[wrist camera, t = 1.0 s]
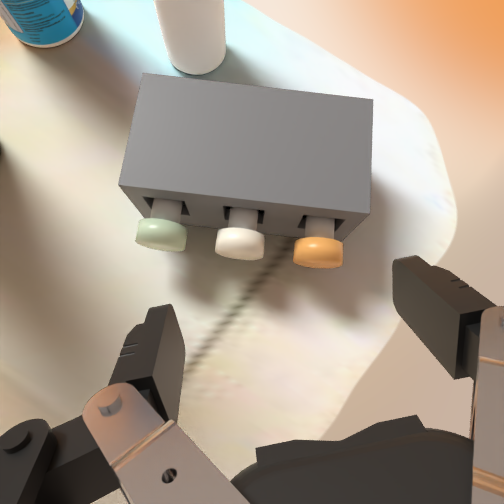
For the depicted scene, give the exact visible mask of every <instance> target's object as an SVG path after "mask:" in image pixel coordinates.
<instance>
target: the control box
mask: <svg viewBox="0 0 504 504" xmlns="http://www.w3.org/2000/svg"><path fill="white" fill-rule="evenodd" d="M372 125H373V99H365V98H356V97H348V96H339V95H330V94H322V93H313V92H304V91H296V90H287V89H278V88H270V87H261V86H252V85H244V84H235V83H227V82H218V81H209V80H201V79H192V78H183V77H175V76H166V75H157V74H149V73H143V74H142V79H141V84H140V88H139V93H138V97H137V102H136V106H135V111H134V115H133V120H132V124H131V129H130V133H129V138H128V142H127V147H126V151H125V156H124V160H123V165H122V169H121V174H120V178H119V183H118V185H119V187H120V188H121V189H122V190H123V192H124V193H125V194H126V195H127V197H128V198H129V199H130V200H131V202H132V203H133V204H134V205H135V207H136V208H137V209H138V210H139V212H140V213H141V214H142V216H143V217H144V218H150V216H151V211H152V206H153V201H154V198H161V199H170V200H179V201H184V202H185V204H186V205H185V204H183V205H182V211H181V217H180V222H179V224H184V225H193V226H202V227H210V228H219V229H223V228H228V223H229V215H230V210H228V209H226V206H231V207H240V208H248V209H257V210H264V214H263V213H258V220H257V229H256V231H257V232H259V233H263V234H272V235H281V236H289V237H298V238H305V227H306V218H302V217H303V215H310V216H318V217H327V218H335V226H334V240H337V241H340V242H341V241H342V240H343V239H344V238H345V237H347V236H348V235H349V234H350V233H351V232H352V231H353V230H354V229H355V228H356V227H357V226H358V225H359V224H360V223H361V222H362V221H363V220H364V219H365V218H366V217H367V216H368V215H369V214H370V196H371V160H372Z"/></svg>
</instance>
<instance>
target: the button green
mask: <svg viewBox="0 0 504 504" xmlns="http://www.w3.org/2000/svg"><path fill="white" fill-rule="evenodd" d="M182 205H183V201H179V200H170V199H161V198H154V201H153V206H152V211H151V216H150V218H145V219H141V220H140V221H139V225H138V230H137V235H136V240H135V241H136V242H137V243H138V244H140V245H142V246H145V247H148V248H151V249H156V250H161V251H171V252H179V251H183V250H185V245H186V239H187V233H188V229H187V228H186V227H185V226H183V225H181V224H179V222H180V217H181V211H182Z"/></svg>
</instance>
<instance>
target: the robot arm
mask: <svg viewBox="0 0 504 504" xmlns="http://www.w3.org/2000/svg"><path fill="white" fill-rule="evenodd" d="M392 272H393V302H394V306H395V308H396V310H397V312H398V314H399V315H400V316H401V317H402V318H403V320H404V321H405V322H406V323H407V324H408V326H409V327H410V328H411V329H412V330H413V331H414V333H415V334H416V335H417V336H418V337H419V338H420V340H421V341H422V342H423V343H424V345H425V346H426V347H427V348H428V349H429V350H430V352H431V353H432V354H433V355H434V356H435V357H436V359H437V360H438V361H439V362H440V363H441V364H442V366H443V367H444V368H445V369H446V370H447V372H448V373H449V374H450V375H451V376H452V378H454V380H455V379H460V378H465V377H471V378H472V379H473V380H474V383H473V393H472V406H471V419H470V420H471V421H470V433H469V438H466V437H464V436H461V435H458V434H455V433H452V432H448V431H444V430H439V429H432V428H425V427H424V426H423V424H422V422H421V421H420V419H419V418H418V416H417V415H413V416H408V417H403V418H398V419H394V420H389V421H384V422H379V423H376V424H374V425H372V426H370V427H368V428H366V429H364V430H362V431H360V432H358V433H356V434H354V435H352V436H350V437H348V438H346V439H344V440H341V441H316V440H292V441H287V442H282V443H277V444H272V445H268V446H263V447H258V448H256V457H257V462H256V463H254V464H252V465H250V466H249V467H247V468H246V469H244V470H242V471H241V472H240V473H239V474H237V475H236V476H235V477H234V478H233V479H232V480H231V481H229V480H228V479H227V478H226V477H225V476H224V475H223V474H222V473H221V472H220V470H219V469H218V468H217V467H216V466H215V465H214V464H213V463H212V462H211V461H210V460H209V459H208V458H207V456H206V455H205V454H204V453H203V452H202V451H201V450H200V449H199V448H198V447H197V446H196V445H195V443H194V442H193V441H192V440H191V439H190V438H189V437H188V436H187V435H186V434H185V433H184V432H183V431H182V429H181V428H180V427H179V426H178V425H177V419H178V411H179V403H180V395H181V387H182V378H183V370H184V362H185V345H184V340H183V337H182V334H181V330H180V327H179V324H178V321H177V318H176V315H175V312H174V309H173V306H172V305H171V304H167V305H162V306H157V307H152V308H149V310H148V313H147V316H146V319H145V322H144V323H143V324H138V325H136V326H135V327H134V328H133V329H132V330H131V332H130V333H129V334H128V335H127V337H126V340H125V342H124V345H123V348H122V350H121V353H120V357H119V358H118V361H117V363H116V366H115V369H114V371H113V374H112V376H111V379H110V382H109V384H108V386H107V387H105V388H103V389H102V390H100V391H99V392H97V393H96V394H95V395H94V396H92V397H91V399H90V400H89V401H88V402H87V403H86V405H85V407H84V409H83V413H82V415H81V416H79V417H77V418H75V419H73V420H71V421H68V422H66V423H64V424H62V425H59V426H57V427H55V428H53V429H51V428H50V427H49V425H48V423H47V422H46V421H45V420H42V419H32V420H28V421H25V422H22V423H20V424H18V425H16V426H14V427H13V428H11V429H10V430H8V431H7V432H5V433H4V434H3V435H2V436H1V437H0V504H90V503H92V502H94V501H96V500H98V499H100V498H101V497H103V496H105V495H107V494H109V493H111V492H113V491H115V490H116V489H118V488H120V490H121V492H122V494H123V495H124V497H125V499H126V501H127V502H128V504H504V306H496V305H495V304H494V303H492V302H491V301H490V300H488V299H487V298H485V297H484V296H483V295H481V294H480V293H479V292H477V291H476V290H474V289H473V288H472V287H469V285H468V284H466V283H465V282H464V281H462V280H460V278H458V277H457V276H455V275H454V274H453V273H451V272H450V271H448V270H445V269H443V268H440V267H437V266H430V265H429V264H428V263H427V262H425V261H424V260H423V259H421V258H420V257H419V256H417V255H414V256H409V257H404V258H399V259H395V260H394V261H393V266H392Z"/></svg>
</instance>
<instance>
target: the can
mask: <svg viewBox="0 0 504 504" xmlns="http://www.w3.org/2000/svg"><path fill="white" fill-rule="evenodd" d="M153 1H154V5H155V9H156V13H157V17H158V20H159V24H160V28H161V32H162V36H163V40H164V43H165V47H166V51H167V54H168V57H169V60H170V61H171V63H172V64H173V65H174V66H175V67H176V68H177V69H179V70H180V71H182V72H185V73H188V74H192V75H202V74H206V73H209V72H211V71H213V70H214V69H216V68H217V67H218V66H219V65H220V64H221V63H222V61H223V59H224V57H225V54H226V38H225V18H224V0H153Z"/></svg>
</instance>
